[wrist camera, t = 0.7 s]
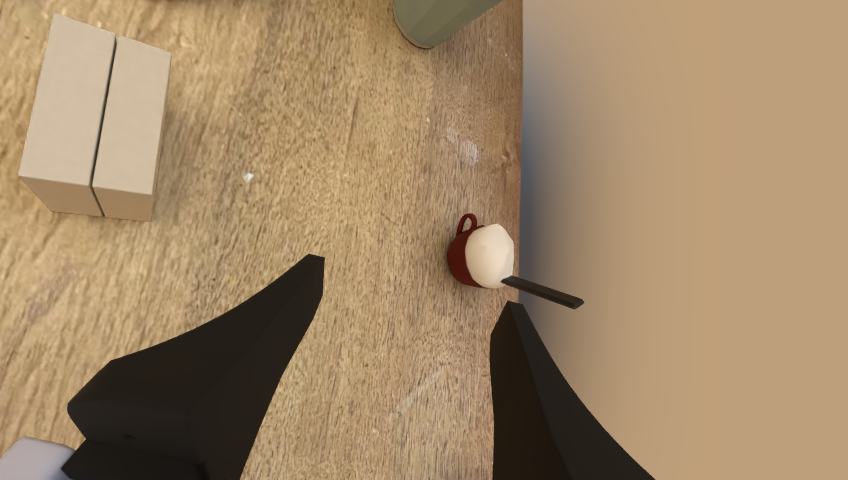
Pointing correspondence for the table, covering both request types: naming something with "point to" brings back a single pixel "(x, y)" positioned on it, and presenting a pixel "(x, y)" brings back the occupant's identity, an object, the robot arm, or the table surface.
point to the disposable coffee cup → (436, 18)
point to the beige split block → (97, 123)
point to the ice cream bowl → (493, 262)
